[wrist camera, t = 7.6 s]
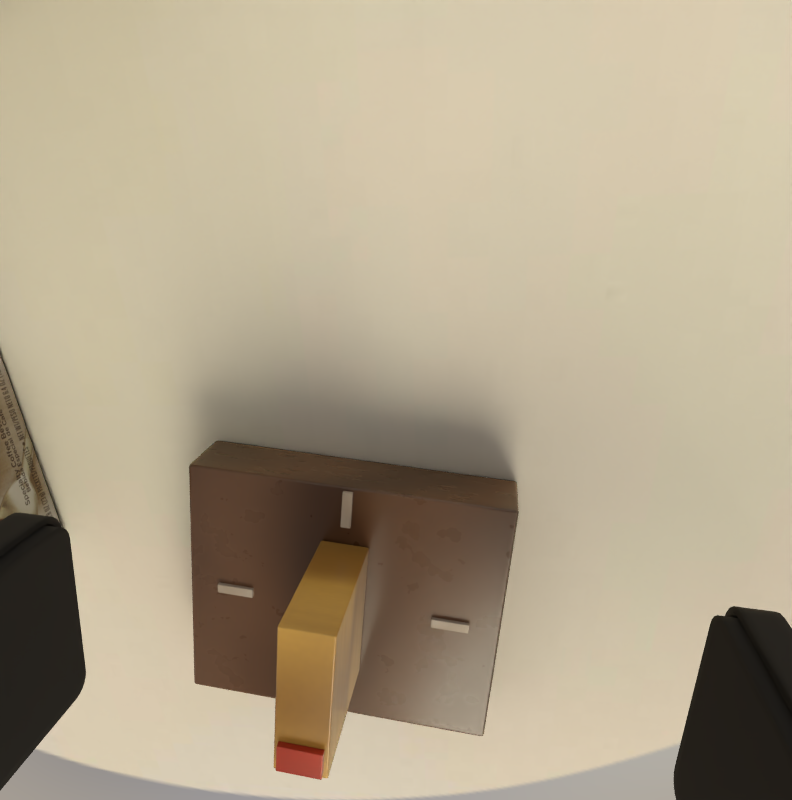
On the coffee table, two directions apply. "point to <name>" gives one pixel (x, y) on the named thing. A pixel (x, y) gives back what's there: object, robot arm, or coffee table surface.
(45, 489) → the coffee box
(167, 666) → the coffee table surface
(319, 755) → the yellow slab
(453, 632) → the panel
